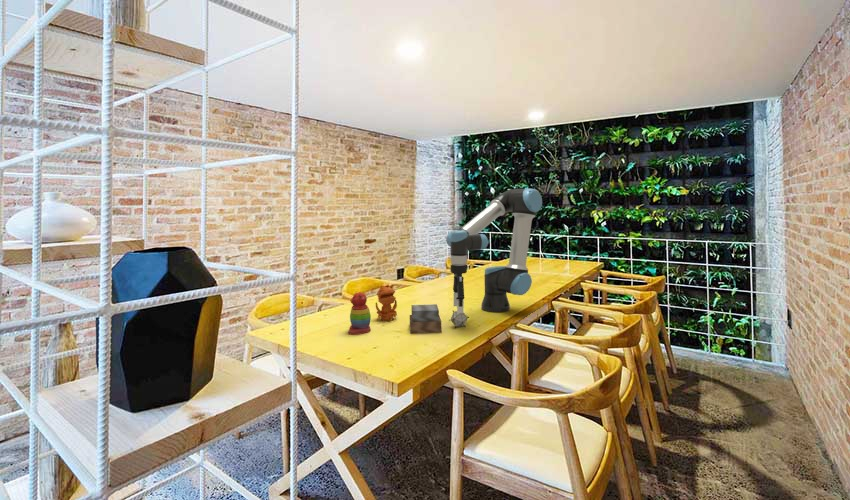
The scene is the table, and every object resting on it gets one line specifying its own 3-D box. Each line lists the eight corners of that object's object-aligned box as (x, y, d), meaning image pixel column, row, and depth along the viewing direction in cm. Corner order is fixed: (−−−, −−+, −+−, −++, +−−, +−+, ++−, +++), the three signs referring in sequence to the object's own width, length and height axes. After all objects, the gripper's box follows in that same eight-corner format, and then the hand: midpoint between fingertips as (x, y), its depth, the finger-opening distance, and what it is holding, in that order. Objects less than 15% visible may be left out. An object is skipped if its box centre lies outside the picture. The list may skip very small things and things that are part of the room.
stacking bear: (349, 327, 205) (348, 290, 203) (371, 327, 206) (370, 290, 204) (347, 334, 194) (346, 295, 192) (370, 334, 195) (369, 295, 193)
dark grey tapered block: (438, 324, 208) (438, 303, 207) (441, 332, 196) (441, 310, 194) (409, 325, 208) (409, 304, 206) (410, 333, 195) (409, 311, 194)
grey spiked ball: (462, 335, 202) (467, 322, 196) (445, 328, 204) (450, 315, 197) (467, 322, 209) (472, 308, 202) (451, 315, 210) (455, 301, 204)
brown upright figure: (381, 323, 211) (380, 287, 209) (372, 318, 221) (371, 283, 219) (401, 320, 216) (401, 284, 214) (393, 315, 226) (392, 281, 224)
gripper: (447, 260, 212) (447, 303, 214) (453, 268, 187) (453, 316, 190) (462, 260, 213) (462, 303, 215) (471, 268, 188) (470, 316, 190)
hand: (458, 309), depth 202 cm, fingers open, 13 cm apart
